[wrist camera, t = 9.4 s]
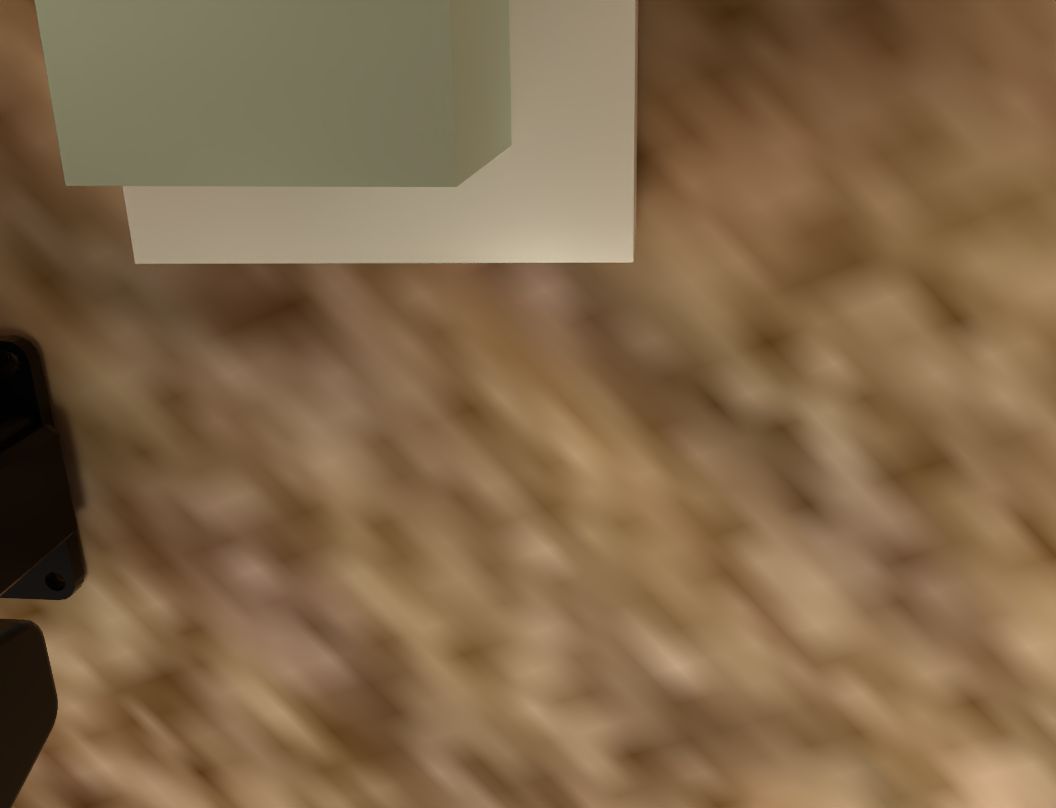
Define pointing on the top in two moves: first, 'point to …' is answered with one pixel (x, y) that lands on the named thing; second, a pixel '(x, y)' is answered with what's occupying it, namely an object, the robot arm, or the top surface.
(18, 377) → the robot arm
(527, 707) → the top surface
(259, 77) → the cube
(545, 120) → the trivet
